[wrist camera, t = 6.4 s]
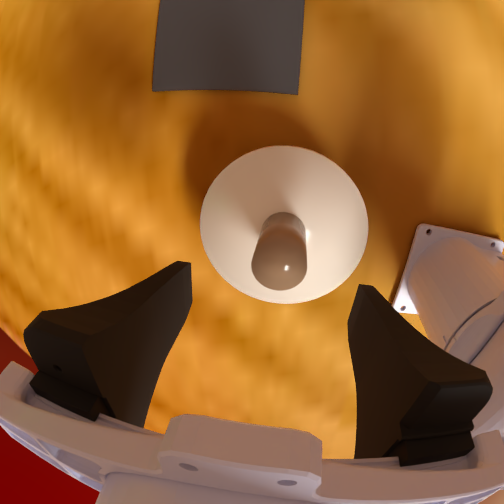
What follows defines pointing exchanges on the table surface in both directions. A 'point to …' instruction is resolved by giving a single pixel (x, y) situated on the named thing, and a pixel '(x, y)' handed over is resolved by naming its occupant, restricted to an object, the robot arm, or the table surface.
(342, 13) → the table surface
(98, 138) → the table surface
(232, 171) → the lid
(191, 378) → the table surface
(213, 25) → the mat
